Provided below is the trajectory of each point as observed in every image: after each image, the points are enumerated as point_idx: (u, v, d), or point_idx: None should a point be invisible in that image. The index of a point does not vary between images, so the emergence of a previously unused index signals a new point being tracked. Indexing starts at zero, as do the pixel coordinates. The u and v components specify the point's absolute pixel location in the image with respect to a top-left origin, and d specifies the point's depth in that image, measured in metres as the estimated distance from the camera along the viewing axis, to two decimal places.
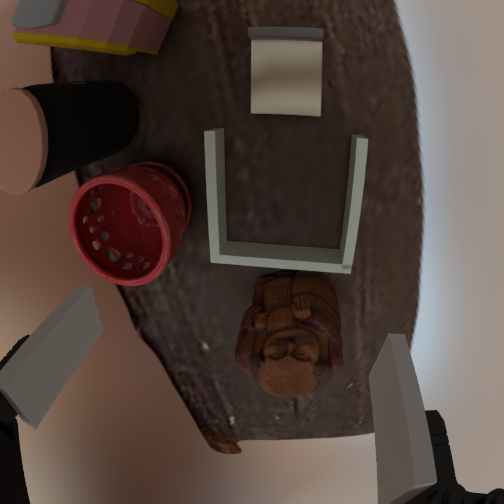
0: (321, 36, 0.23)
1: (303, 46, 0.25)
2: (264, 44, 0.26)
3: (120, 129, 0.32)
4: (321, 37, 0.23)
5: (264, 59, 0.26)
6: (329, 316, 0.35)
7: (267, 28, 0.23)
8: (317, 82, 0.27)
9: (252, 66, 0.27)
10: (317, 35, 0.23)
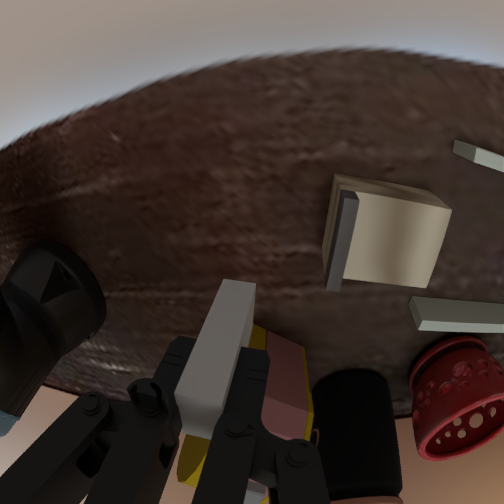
0: (357, 202, 0.19)
1: (359, 217, 0.21)
2: (347, 263, 0.23)
3: (377, 399, 0.30)
4: (358, 202, 0.19)
5: (366, 265, 0.23)
6: None
7: (333, 269, 0.21)
8: (411, 206, 0.20)
9: (372, 280, 0.23)
10: (354, 207, 0.19)
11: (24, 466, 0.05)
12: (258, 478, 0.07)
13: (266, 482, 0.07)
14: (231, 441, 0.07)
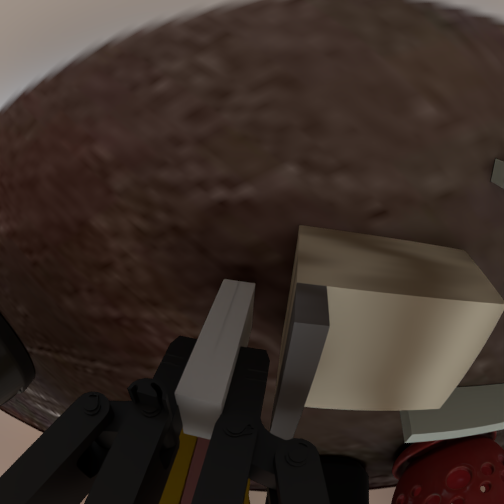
0: (323, 329, 0.08)
1: (335, 329, 0.11)
2: (311, 391, 0.13)
3: (346, 496, 0.20)
4: (326, 328, 0.08)
5: (346, 393, 0.12)
6: None
7: (278, 418, 0.11)
8: (438, 306, 0.10)
9: (354, 408, 0.13)
10: (318, 339, 0.09)
11: (24, 466, 0.05)
12: (257, 478, 0.07)
13: (266, 482, 0.07)
14: (231, 441, 0.07)
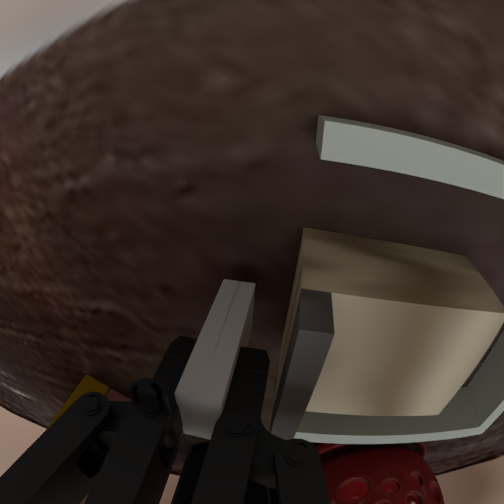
0: (327, 337, 0.08)
1: (337, 335, 0.11)
2: (311, 395, 0.13)
3: None
4: (330, 335, 0.08)
5: (345, 398, 0.12)
6: None
7: (278, 423, 0.11)
8: (441, 315, 0.10)
9: (354, 413, 0.13)
10: (322, 346, 0.08)
11: (24, 466, 0.05)
12: (257, 478, 0.07)
13: (266, 482, 0.07)
14: (231, 441, 0.07)
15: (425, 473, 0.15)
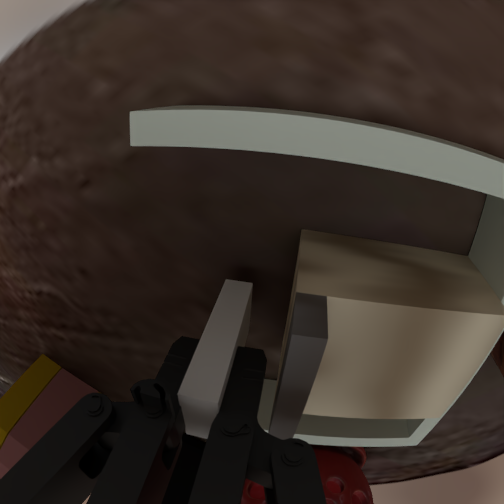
0: (321, 342, 0.08)
1: (334, 339, 0.11)
2: (309, 399, 0.12)
3: (177, 474, 0.22)
4: (324, 340, 0.08)
5: (345, 401, 0.12)
6: None
7: (275, 426, 0.11)
8: (440, 317, 0.09)
9: (353, 416, 0.13)
10: (316, 351, 0.08)
11: (26, 467, 0.05)
12: (254, 478, 0.07)
13: (262, 481, 0.07)
14: (227, 440, 0.07)
15: (349, 480, 0.16)
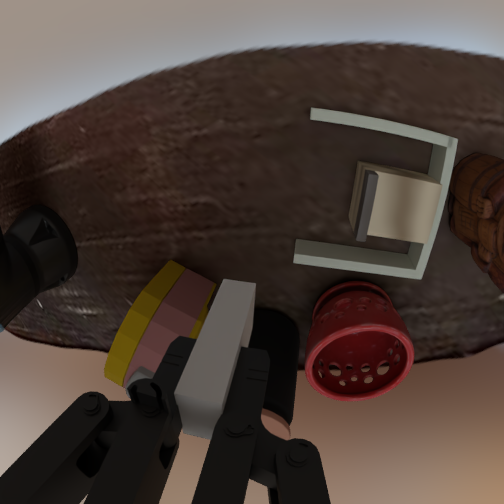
0: (377, 177, 0.27)
1: (377, 189, 0.29)
2: (369, 223, 0.31)
3: (275, 331, 0.40)
4: (377, 176, 0.27)
5: (383, 225, 0.31)
6: (496, 177, 0.23)
7: (361, 224, 0.29)
8: (413, 182, 0.28)
9: (387, 236, 0.32)
10: (375, 180, 0.27)
11: (24, 466, 0.05)
12: (258, 478, 0.07)
13: (266, 482, 0.07)
14: (231, 441, 0.07)
15: (388, 303, 0.35)
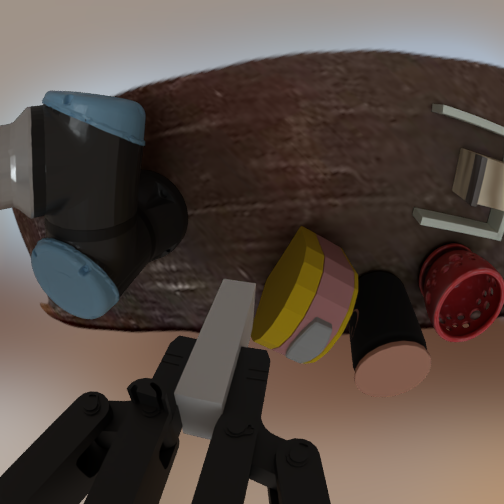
0: (486, 159, 0.30)
1: None
2: None
3: (397, 287, 0.44)
4: (486, 159, 0.30)
5: (483, 196, 0.34)
6: None
7: (475, 193, 0.33)
8: (502, 165, 0.32)
9: (485, 205, 0.35)
10: (485, 161, 0.31)
11: (24, 466, 0.05)
12: (258, 478, 0.07)
13: (266, 482, 0.07)
14: (231, 441, 0.07)
15: None
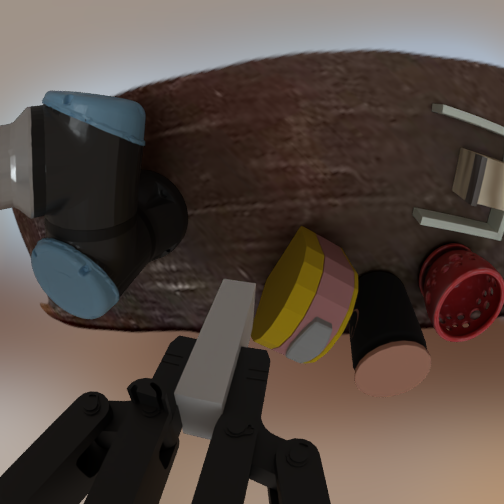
0: (486, 159, 0.30)
1: None
2: None
3: (397, 286, 0.44)
4: (486, 159, 0.30)
5: (483, 195, 0.34)
6: None
7: (475, 192, 0.33)
8: (502, 165, 0.32)
9: (485, 204, 0.35)
10: (485, 161, 0.31)
11: (24, 466, 0.05)
12: (258, 478, 0.07)
13: (266, 482, 0.07)
14: (231, 441, 0.07)
15: None
